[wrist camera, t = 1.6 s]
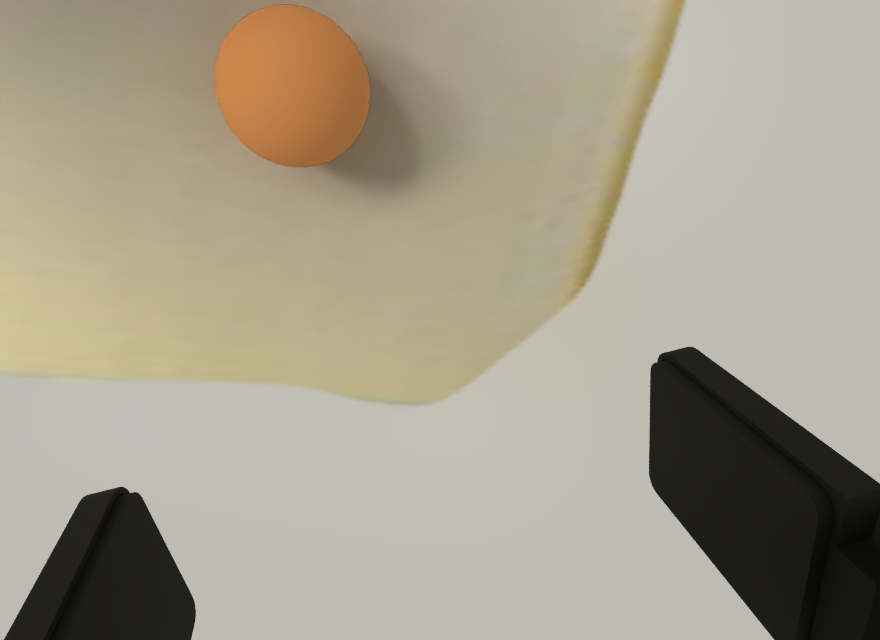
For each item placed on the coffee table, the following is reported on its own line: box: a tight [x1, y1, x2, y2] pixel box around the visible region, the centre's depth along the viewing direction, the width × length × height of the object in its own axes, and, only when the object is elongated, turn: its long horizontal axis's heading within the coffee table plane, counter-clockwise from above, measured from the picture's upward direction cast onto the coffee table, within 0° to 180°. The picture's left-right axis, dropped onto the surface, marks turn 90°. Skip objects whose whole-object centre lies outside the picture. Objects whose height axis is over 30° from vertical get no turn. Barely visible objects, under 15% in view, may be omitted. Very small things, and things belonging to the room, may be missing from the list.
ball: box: [215, 5, 370, 167], centre depth 22 cm, size 6×6×6 cm
